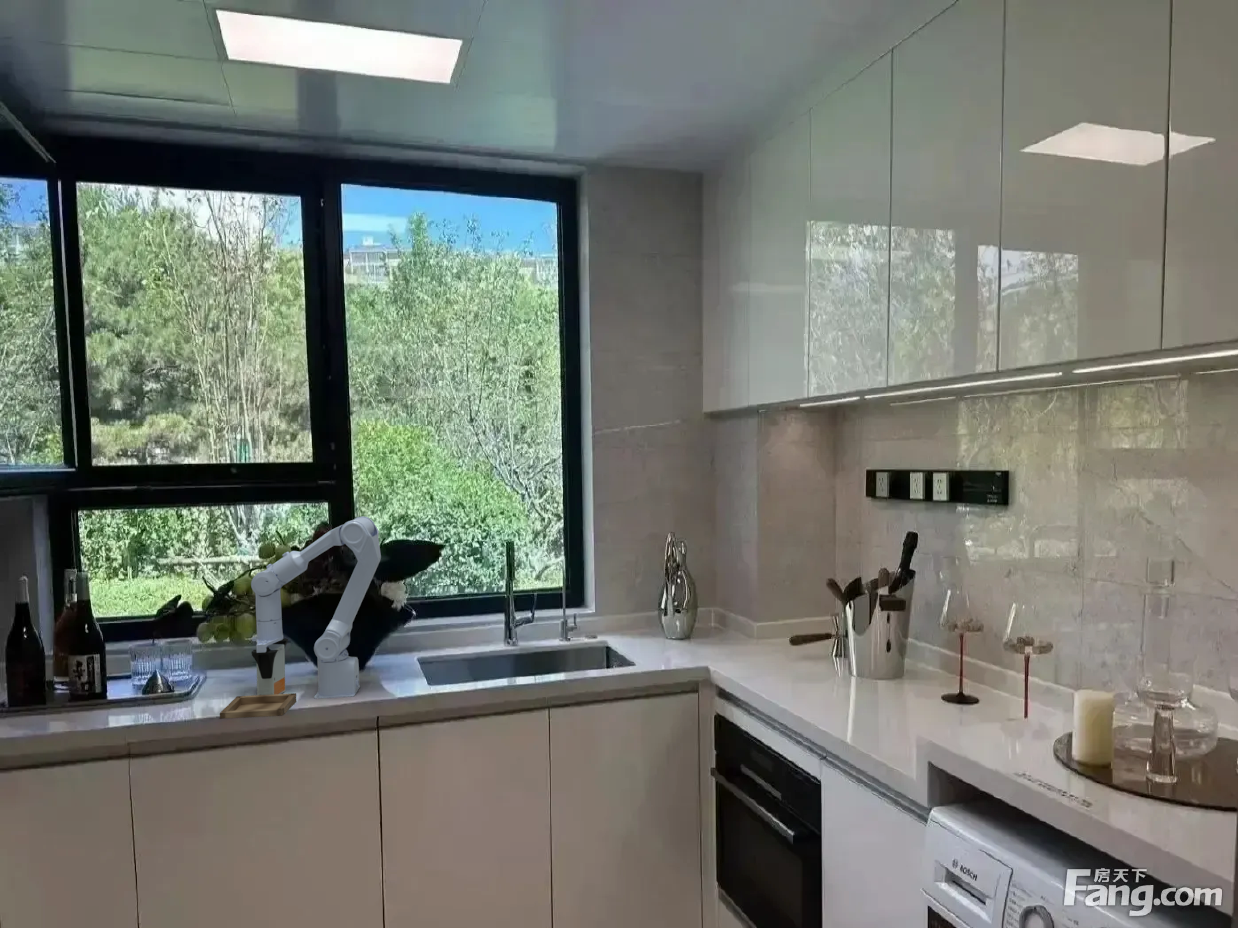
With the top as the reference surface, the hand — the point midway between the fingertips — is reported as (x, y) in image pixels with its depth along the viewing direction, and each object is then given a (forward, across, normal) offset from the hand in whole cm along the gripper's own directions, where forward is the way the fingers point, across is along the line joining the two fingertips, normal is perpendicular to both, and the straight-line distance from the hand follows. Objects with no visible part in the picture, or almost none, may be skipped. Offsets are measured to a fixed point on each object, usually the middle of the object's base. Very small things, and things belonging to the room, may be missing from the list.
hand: (271, 673), depth 201 cm
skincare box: (+6, 0, 0) cm, 6 cm away
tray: (+5, +13, +1) cm, 14 cm away
